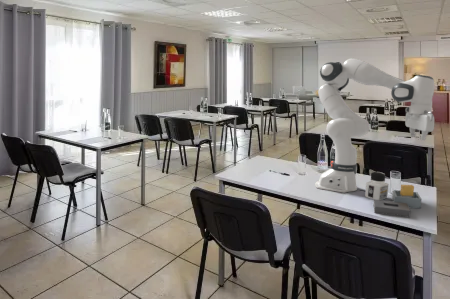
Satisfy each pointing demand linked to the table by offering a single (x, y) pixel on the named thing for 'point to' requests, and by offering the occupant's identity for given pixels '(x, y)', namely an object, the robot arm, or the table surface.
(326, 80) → the robot arm
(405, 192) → the fuse
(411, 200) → the parts tray
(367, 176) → the table surface
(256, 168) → the table surface
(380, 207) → the block
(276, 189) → the table surface
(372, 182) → the container
